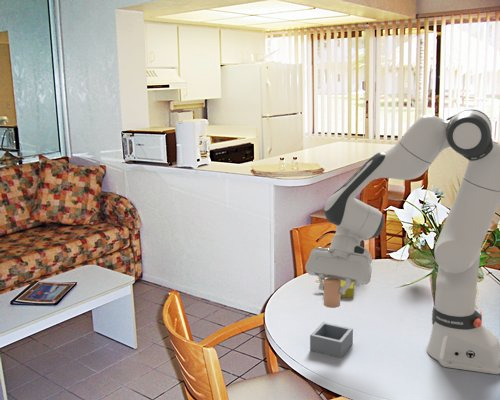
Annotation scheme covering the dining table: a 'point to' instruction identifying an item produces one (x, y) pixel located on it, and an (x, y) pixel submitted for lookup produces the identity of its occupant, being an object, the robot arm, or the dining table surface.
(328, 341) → the gray open box
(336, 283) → the canister
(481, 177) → the robot arm
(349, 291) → the yellow box with tab
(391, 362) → the dining table surface
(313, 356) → the dining table surface
